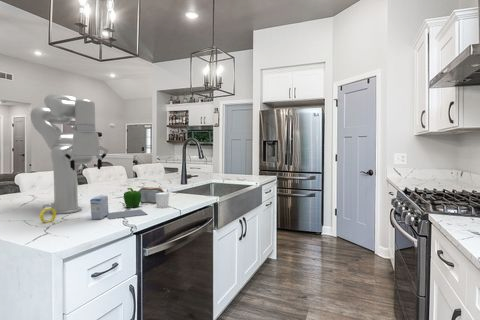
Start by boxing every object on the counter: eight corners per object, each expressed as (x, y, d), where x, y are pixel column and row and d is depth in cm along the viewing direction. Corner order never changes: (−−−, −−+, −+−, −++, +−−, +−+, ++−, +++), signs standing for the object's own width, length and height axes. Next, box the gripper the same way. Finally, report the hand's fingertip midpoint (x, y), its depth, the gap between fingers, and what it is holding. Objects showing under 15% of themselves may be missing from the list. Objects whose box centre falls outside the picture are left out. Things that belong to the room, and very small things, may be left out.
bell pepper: (140, 204, 154) (140, 186, 154) (142, 207, 147) (141, 188, 146) (123, 206, 151) (123, 186, 150) (124, 209, 143) (124, 189, 143)
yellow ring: (44, 224, 115) (42, 210, 115) (39, 224, 116) (37, 209, 116) (57, 220, 121) (56, 206, 120) (53, 219, 122) (51, 205, 121)
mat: (108, 219, 122) (108, 218, 122) (104, 213, 133) (104, 213, 133) (147, 214, 131) (147, 214, 131) (140, 209, 141) (140, 209, 141)
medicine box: (98, 214, 130) (97, 195, 129) (109, 214, 130) (107, 195, 130) (91, 219, 122) (89, 199, 121) (102, 219, 122) (100, 198, 122)
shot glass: (171, 205, 151) (171, 192, 151) (164, 208, 145) (164, 194, 144) (160, 205, 153) (160, 191, 153) (152, 207, 147) (152, 193, 147)
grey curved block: (165, 202, 161) (165, 187, 160) (163, 203, 157) (162, 188, 157) (139, 202, 162) (138, 187, 162) (136, 203, 159) (136, 187, 159)
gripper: (61, 128, 115) (63, 171, 116) (109, 129, 124) (109, 169, 125) (61, 129, 121) (62, 169, 122) (106, 130, 131) (107, 168, 131)
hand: (86, 169), depth 124 cm, fingers open, 9 cm apart
